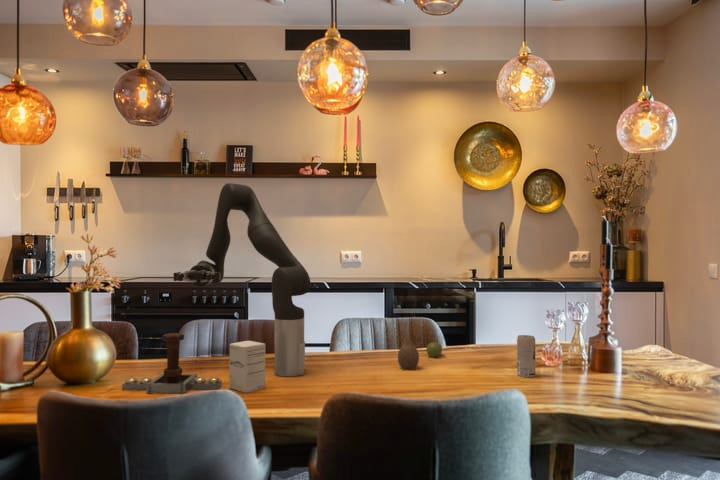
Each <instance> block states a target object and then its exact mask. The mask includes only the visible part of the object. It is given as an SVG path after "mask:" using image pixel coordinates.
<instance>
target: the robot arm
mask: <svg viewBox="0 0 720 480" xmlns="http://www.w3.org/2000/svg"><path fill="white" fill-rule="evenodd" d="M231 210H233V211H241V212H243V213H244V214H245V215H246V217H247V219H248V224H247V229H246V230H247V237H248V239H249V241H250V243H251V245H252V246H253V247H254V249H255V251H257V253H258V254H259V255H261V256H262V257H264V259H266V260H268V261H269V262H272V263H273V264H274V265H276V266H277V268H275V269H274V271H273V273H272V277H271V297H272V310H273V314H274V375H276V376H279V377H297V376H304V375H305V372H306V342H305V309H304V308H303V307H299V306H297V305H295V304H294V302H293V297H298V296H303V295H305V294H307V293H308V292H309V291H310V289H311V277H310V275H309V273H308V271H307V270H306V268H305V267H304V266H303V264H302V263H301V262H300V261H299V260H298V259H297V257H296V256H295V255H294V254H293V253H292V251H291V250H290V249H289V247H288V246H287V244H286V243H285V241H284V240H283V239H282V237H281V236H280V233H279V232H278V231H277V229H276V228H275V226H274V224H273V223H272V222H271V220H270V218H268V216H267V214H266V212H265V210H264V209H263V208H262V205H261V203H260V202H259V199H258V197H257V195H256V193H255V191H254V190H253V189H252V188H251V187H250V186H248V185H245V184H240V183H232V182H229V183H225V184H224V185H223V186H222V188H221V190H220V193H219V197H218V201H217V206H216V214H215V217H214V218H215V220H214V224H213V225H214V226H213V230H212V234H211V237H210V239H209V242H208V246H207V249H206V252H205V255H206V258H208V260H210V261H212V262H213V263H212V262H209V261H207V260H200V261H199V262H198V263H196V264H195V265H193V266H192V267H191V268H190V270H185V271H183V272H181V271H178V272H173V282H177V281H178V282H184V283H191V284H192V285H193V286H195V287H200V288H201V287H205V286H207V285H209V284H212V285H218V284H220V283H221V282H222V280H223V279H224V275H225V261H226V260H225V259H226V256H227V254H228V250H229V247H230V245H231V233H230V229H229V223H228V219H229V215H230V212H231Z"/></svg>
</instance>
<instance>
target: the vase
mask: <svg viewBox="0 0 720 480" xmlns="http://www.w3.org/2000/svg"><path fill="white" fill-rule="evenodd" d="M419 361H420V355H419V351H418V349H417V347H416V346H415V345H414V343H413V341H412V340H404V342H403V343H402V345H401V347H400V348H399V350H398V353H397V362H398V364H399V366H400V367H401V369H402V370H407V369H411V370H415V368H417V366H418V365H419Z"/></svg>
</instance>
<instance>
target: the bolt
mask: <svg viewBox="0 0 720 480" xmlns="http://www.w3.org/2000/svg"><path fill="white" fill-rule="evenodd" d="M183 340H185V335H184V334H183V333H181V332H170V333H164V334H163V335H162V337H161V341H163V342H166V351H167V352H166V354H167V356H166V368H164V369H163V374H164V375H165V376H166V377H167V380H168V381H167V383H179V376H180V375H181V374H183V368H182V367H181V366H180V342H181V341H183Z"/></svg>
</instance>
